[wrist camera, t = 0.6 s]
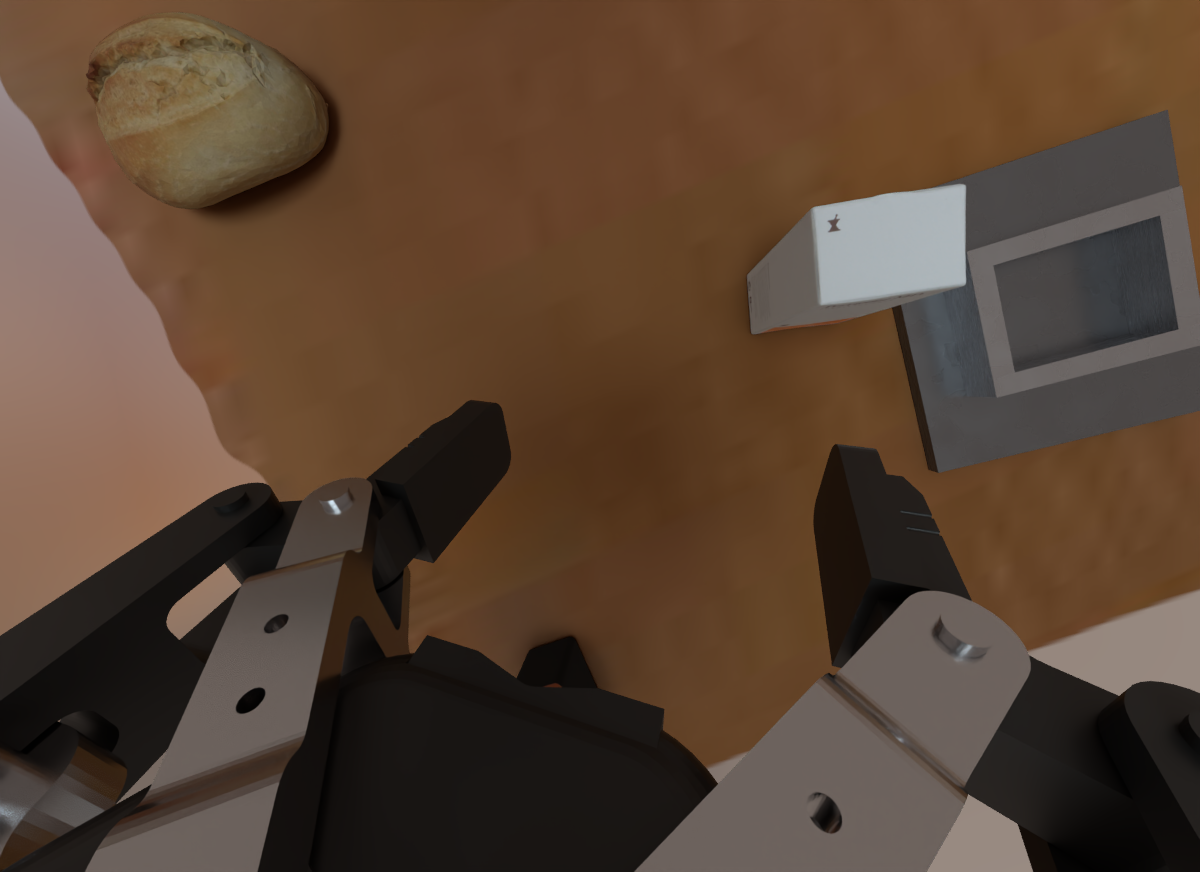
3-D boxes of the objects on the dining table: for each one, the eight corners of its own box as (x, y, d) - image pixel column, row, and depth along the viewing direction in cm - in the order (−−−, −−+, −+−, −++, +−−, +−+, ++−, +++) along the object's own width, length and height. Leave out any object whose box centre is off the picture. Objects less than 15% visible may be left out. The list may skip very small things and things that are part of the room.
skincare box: (749, 336, 30) (814, 307, 18) (745, 274, 29) (809, 202, 18) (840, 325, 29) (971, 286, 17) (837, 261, 29) (969, 176, 17)
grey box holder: (870, 211, 28) (902, 187, 24) (1147, 120, 26) (1224, 79, 22) (928, 469, 30) (965, 481, 26) (1194, 406, 27) (1273, 409, 24)
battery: (574, 632, 34) (543, 733, 25) (607, 705, 35) (589, 833, 25) (526, 648, 35) (478, 752, 25) (559, 719, 36) (524, 849, 26)
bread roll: (153, 132, 33) (-1, 54, 25) (309, 39, 31) (193, -78, 23) (206, 249, 34) (72, 209, 26) (362, 167, 32) (267, 96, 24)
